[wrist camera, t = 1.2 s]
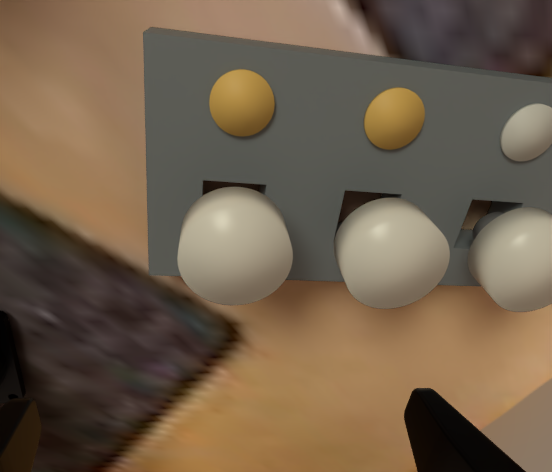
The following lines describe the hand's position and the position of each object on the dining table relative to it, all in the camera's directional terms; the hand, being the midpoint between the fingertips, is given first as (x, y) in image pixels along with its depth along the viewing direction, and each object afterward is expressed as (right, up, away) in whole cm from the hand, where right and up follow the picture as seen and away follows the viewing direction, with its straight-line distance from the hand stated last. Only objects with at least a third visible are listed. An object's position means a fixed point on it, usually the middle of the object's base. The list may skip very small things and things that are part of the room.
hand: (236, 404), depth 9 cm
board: (+5, +7, +11) cm, 14 cm away
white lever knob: (+11, +4, +11) cm, 16 cm away
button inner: (-1, +5, +9) cm, 10 cm away
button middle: (+5, +4, +10) cm, 12 cm away
